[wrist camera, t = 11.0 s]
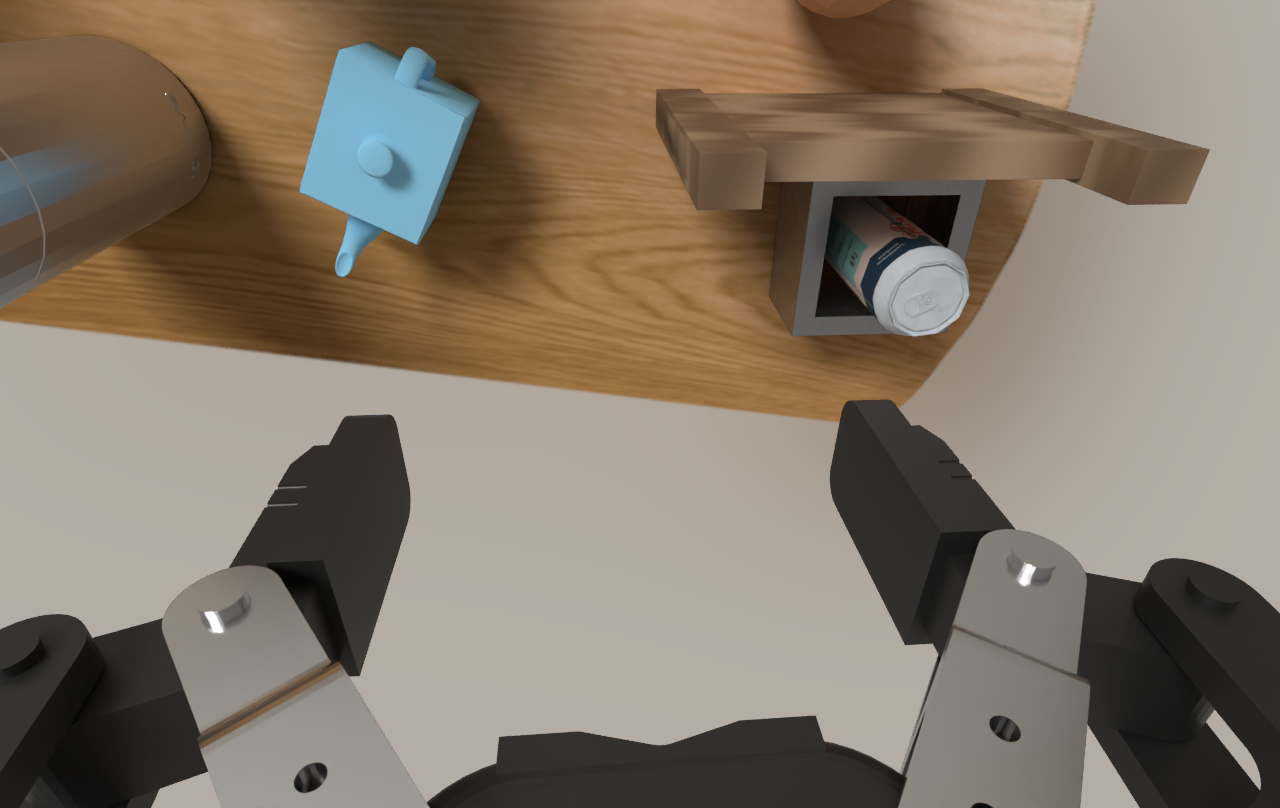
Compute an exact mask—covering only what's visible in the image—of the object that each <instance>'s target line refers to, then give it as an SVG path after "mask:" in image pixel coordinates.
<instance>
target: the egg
mask: <svg viewBox="0 0 1280 808" xmlns="http://www.w3.org/2000/svg"><path fill="white" fill-rule="evenodd" d="M797 1H798V2H799V3H800V4H801V5H802V6H803V7H805V8H807V9H809V10H810V11H812V12H814V13H817V14H820V15H823V16H826V17H831V18H847V17H853V16H859V15H863V14H866V13H868V12H870V11H872V10H875V9H877V8H878V7H880V6H882V5H883V4H885V3H886V2H888V1H890V0H797Z"/></svg>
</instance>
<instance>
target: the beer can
mask: <svg viewBox="0 0 1280 808" xmlns="http://www.w3.org/2000/svg"><path fill="white" fill-rule="evenodd" d="M824 259H825V260H826V261H827V262H828V263H829V265H830V266H831V267H832V268H833V269H834V270H835V272H836V273H837V274H838V275H839V276H840V277H841V279H842V280H843V281H844V282H845V283H846V284H847V285H848V287H849V288H850V289H851V290H852V291H853V292H854V294H855V295H856V296H857V297H858V298H859V299H860V300H861V302H862V303H863V304H864V305H865V306H866V307H867V309H868V310H869V311H870V312H871V313H872V314H873V315H874V317H875V318H876V319H877V320H878V321H879V322H880V323H881V324H882V325H883V326H884V327H885V328H886V329H887V330H889V331H891V332H893V333H895V334H899V335H903V336H913V337H915V336H922V335H929V334H936V333H939V332H940V331H941V330H943V329H944V328H946V327H947V326H948V325H950V324H951V323H952V322H954V321H955V320H956V319H958V318H959V317H960V314H961V312H962V310H963V308H964V306H965V304H966V302H967V300H968V297H969V295H970V294H969V274H968V271H967V268H966V265H965V263H964V262H963V260H962V259H961V258H960V256H959V255H958V254H956V253H955V252H953V251H951V250H949V249H947V248H946V247H944V246H943V245H942V244H940V243H939V242H937V241H936V240H935V239H933V238H932V237H931V236H929V235H928V234H927V233H925V232H924V231H922V230H921V229H920V228H918V227H917V226H916V225H914V224H913V223H912V222H910V221H909V220H908V219H906V218H905V217H903V216H902V215H901V214H899V213H898V212H897V211H895V210H894V209H893V208H891V207H890V206H888V205H887V204H886V203H884V202H883V201H882V200H881V199H880V198H879V197H878V196H837V197H835V198H834V199H833V204H832V210H831V216H830V223H829V229H828V236H827V242H826V249H825V255H824Z"/></svg>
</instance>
